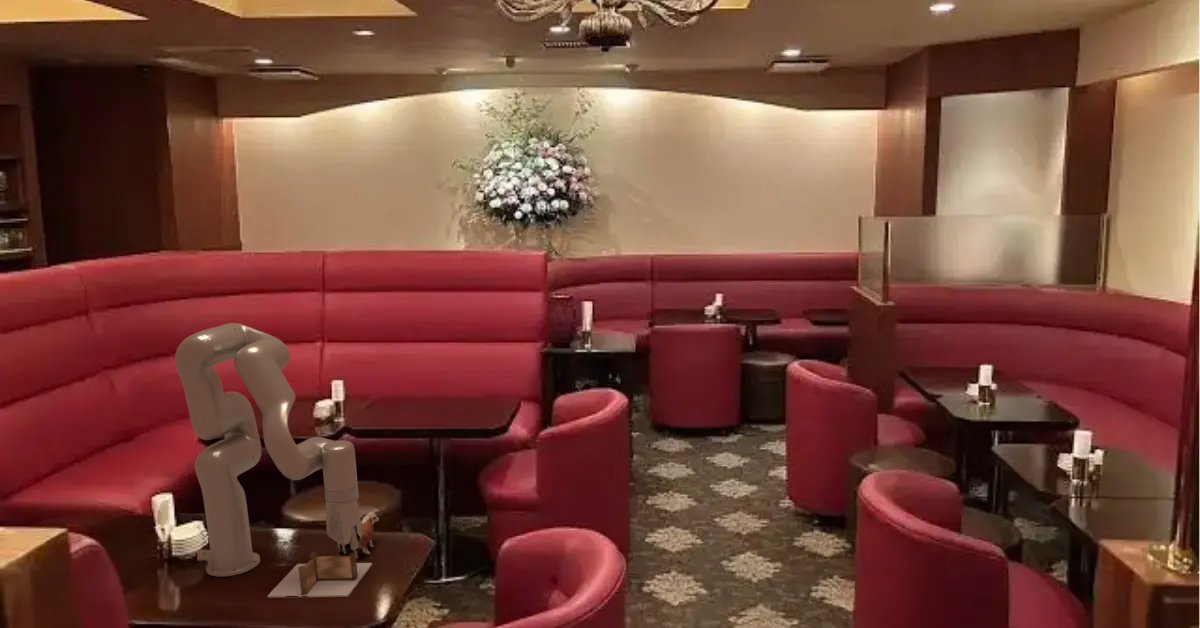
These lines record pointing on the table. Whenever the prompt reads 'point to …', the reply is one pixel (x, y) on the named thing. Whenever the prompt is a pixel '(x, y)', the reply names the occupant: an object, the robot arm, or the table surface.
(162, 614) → the table surface
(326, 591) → the card
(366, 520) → the bull figurine
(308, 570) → the fixed fence section
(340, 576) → the fence panel
